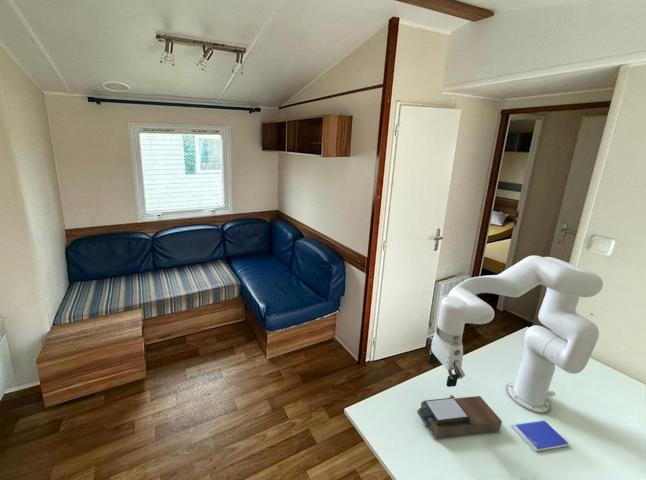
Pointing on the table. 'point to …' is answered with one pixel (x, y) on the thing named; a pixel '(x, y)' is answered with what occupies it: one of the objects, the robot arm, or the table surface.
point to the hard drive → (540, 435)
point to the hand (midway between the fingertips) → (441, 374)
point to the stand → (478, 423)
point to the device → (442, 412)
